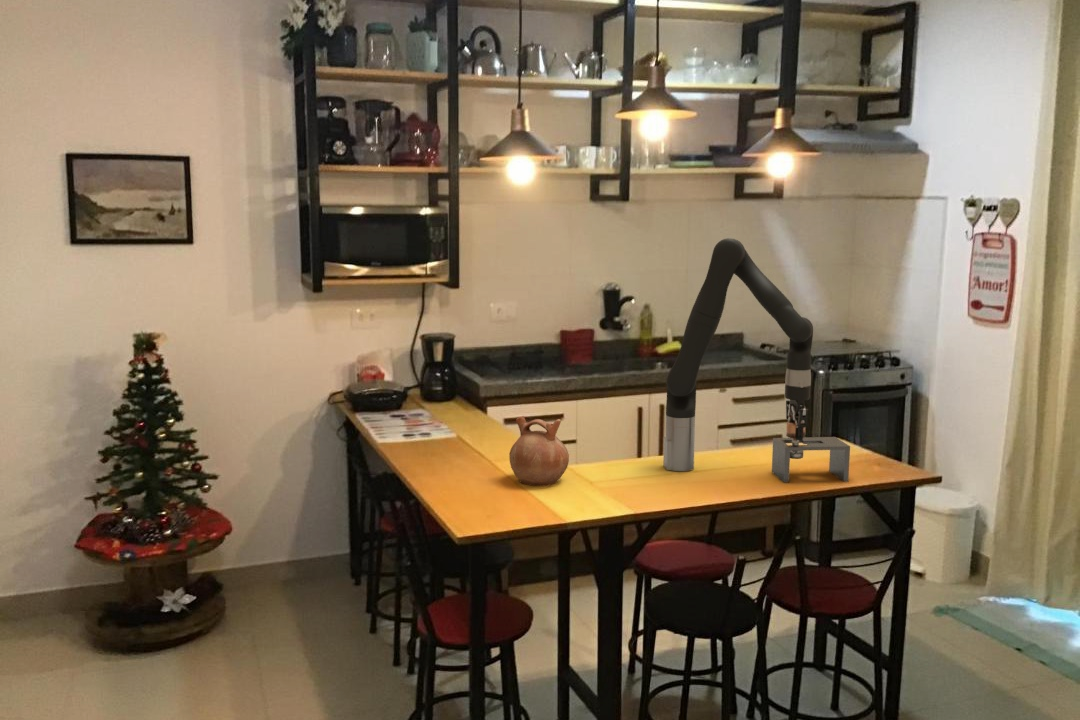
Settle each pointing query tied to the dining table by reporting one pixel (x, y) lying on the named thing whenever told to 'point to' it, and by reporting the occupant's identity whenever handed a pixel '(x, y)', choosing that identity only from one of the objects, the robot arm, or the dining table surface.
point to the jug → (538, 454)
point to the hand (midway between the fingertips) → (795, 437)
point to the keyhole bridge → (836, 447)
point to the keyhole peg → (794, 440)
